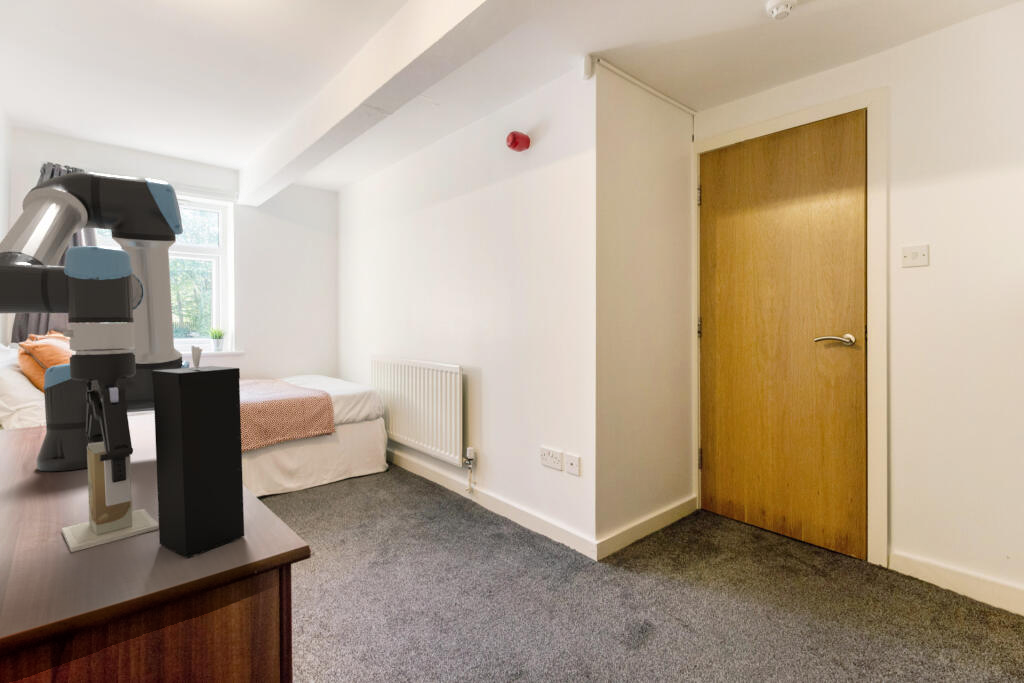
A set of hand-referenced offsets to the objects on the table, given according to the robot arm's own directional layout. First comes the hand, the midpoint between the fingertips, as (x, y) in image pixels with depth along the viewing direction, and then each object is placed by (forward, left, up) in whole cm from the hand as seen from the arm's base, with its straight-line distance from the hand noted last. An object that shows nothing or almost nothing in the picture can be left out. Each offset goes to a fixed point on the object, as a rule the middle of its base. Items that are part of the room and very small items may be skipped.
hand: (109, 492), depth 73 cm
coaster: (0, 0, -6) cm, 6 cm away
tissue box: (+15, +8, -6) cm, 18 cm away
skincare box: (0, 0, -5) cm, 5 cm away
